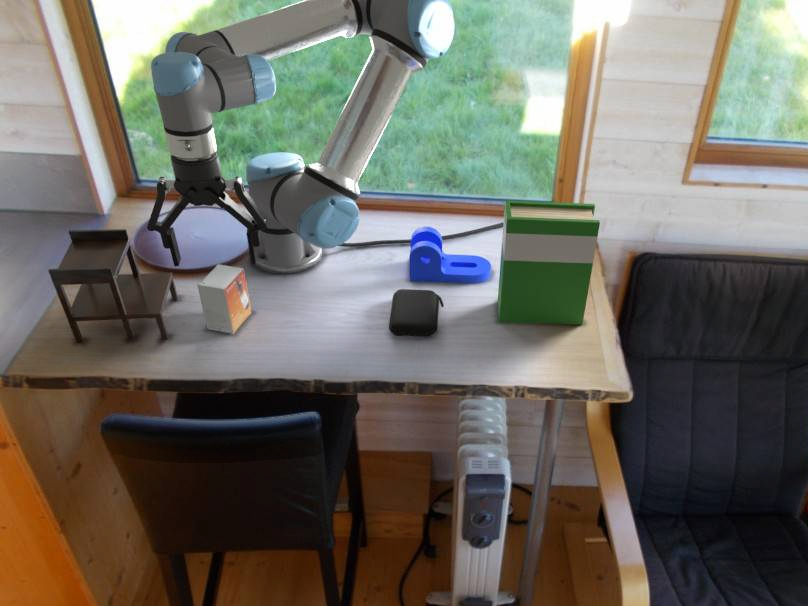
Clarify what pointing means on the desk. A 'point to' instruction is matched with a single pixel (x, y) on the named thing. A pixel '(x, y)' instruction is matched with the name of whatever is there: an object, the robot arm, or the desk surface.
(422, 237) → the bracket
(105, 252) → the rack
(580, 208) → the hardback book
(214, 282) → the small box
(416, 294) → the carrying case
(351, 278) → the desk surface
